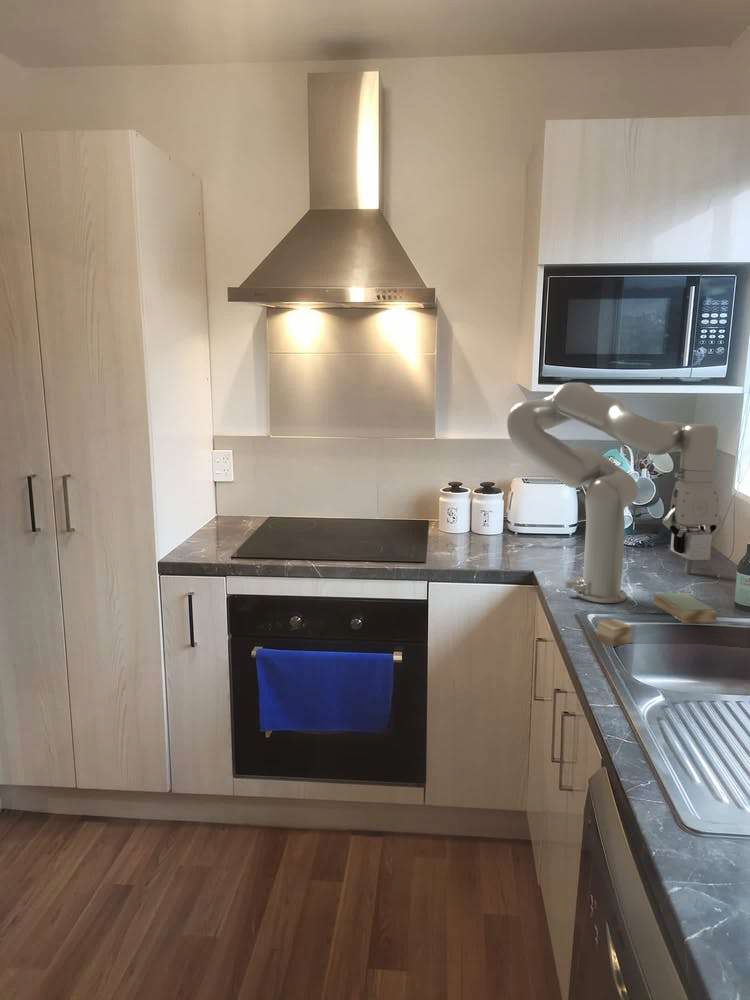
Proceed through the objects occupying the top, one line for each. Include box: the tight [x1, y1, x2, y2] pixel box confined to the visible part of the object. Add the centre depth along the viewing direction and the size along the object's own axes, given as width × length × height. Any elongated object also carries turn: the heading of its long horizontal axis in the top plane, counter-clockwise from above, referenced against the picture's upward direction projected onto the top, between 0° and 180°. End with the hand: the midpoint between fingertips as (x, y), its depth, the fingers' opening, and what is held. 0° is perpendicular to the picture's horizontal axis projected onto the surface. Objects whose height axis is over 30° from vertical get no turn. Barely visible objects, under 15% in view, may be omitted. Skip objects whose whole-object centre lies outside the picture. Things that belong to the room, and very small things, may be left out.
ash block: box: [595, 618, 633, 648], centre depth 155 cm, size 5×5×4 cm
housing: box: [669, 526, 713, 561], centre depth 170 cm, size 9×5×7 cm, turn 5°
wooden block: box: [653, 592, 718, 624], centre depth 174 cm, size 8×14×3 cm, turn 6°
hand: (689, 551), depth 171 cm, fingers closed on housing, 5 cm apart
